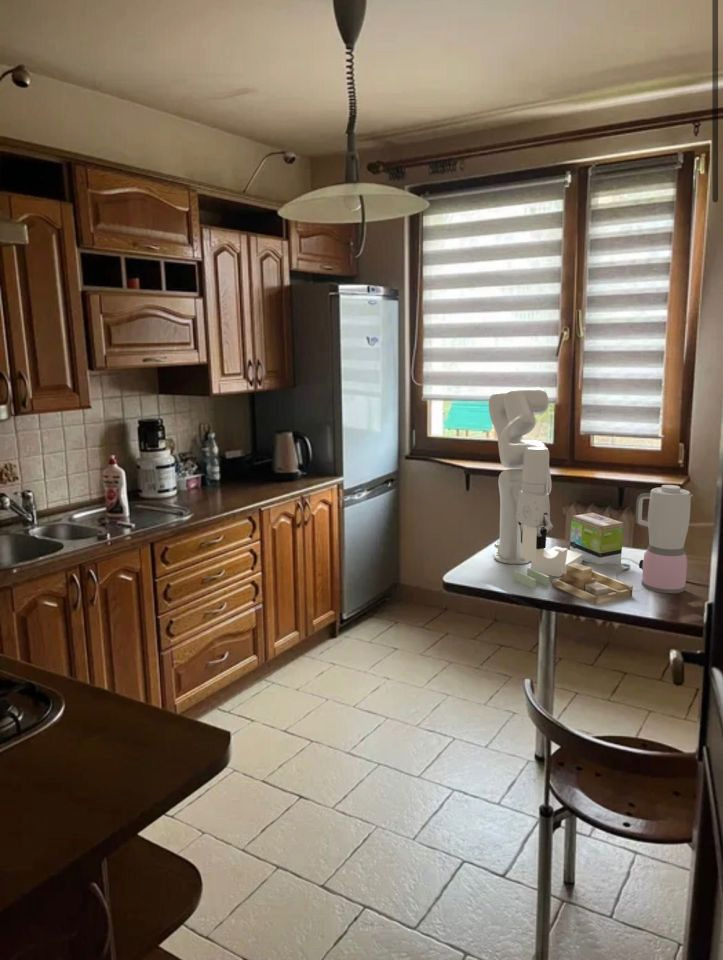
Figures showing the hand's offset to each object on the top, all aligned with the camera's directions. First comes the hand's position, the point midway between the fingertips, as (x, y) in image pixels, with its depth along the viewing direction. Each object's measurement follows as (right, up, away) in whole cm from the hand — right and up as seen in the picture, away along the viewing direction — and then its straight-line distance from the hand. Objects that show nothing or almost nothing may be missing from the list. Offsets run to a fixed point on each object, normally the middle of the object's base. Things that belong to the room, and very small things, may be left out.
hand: (533, 545), depth 217 cm
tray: (+16, -14, -4) cm, 22 cm away
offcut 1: (+13, -9, -4) cm, 16 cm away
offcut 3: (+16, -14, -10) cm, 24 cm away
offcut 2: (+13, -13, -3) cm, 18 cm away
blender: (+38, -13, -1) cm, 40 cm away
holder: (0, -13, +3) cm, 13 cm away
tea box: (+28, -8, +28) cm, 40 cm away
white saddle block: (+12, -10, +17) cm, 23 cm away
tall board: (0, -5, +1) cm, 5 cm away
